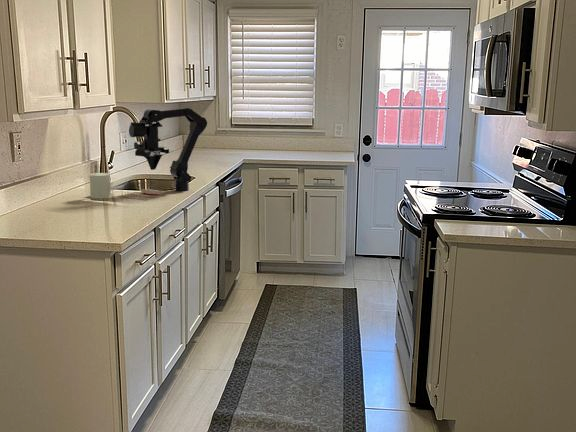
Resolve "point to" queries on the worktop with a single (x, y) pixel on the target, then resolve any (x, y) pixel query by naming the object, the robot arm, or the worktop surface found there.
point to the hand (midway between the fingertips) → (153, 169)
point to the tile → (152, 191)
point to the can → (100, 186)
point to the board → (141, 196)
